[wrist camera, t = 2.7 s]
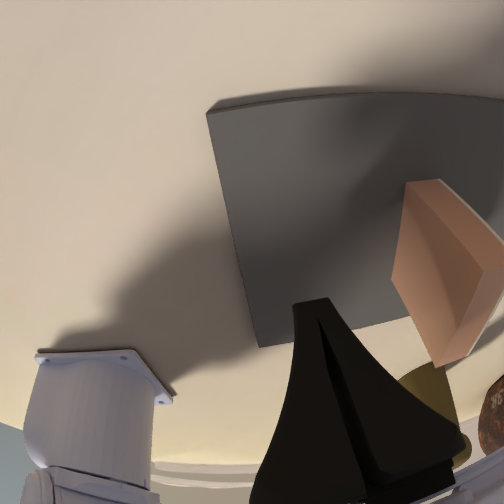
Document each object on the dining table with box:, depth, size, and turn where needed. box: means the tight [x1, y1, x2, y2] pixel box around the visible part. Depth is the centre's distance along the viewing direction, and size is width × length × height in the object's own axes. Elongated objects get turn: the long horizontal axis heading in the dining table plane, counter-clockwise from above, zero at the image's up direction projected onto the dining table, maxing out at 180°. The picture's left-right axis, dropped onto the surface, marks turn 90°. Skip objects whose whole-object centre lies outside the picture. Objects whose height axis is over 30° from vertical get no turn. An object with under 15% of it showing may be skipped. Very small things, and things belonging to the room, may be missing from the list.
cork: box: [398, 363, 472, 470], centre depth 23 cm, size 6×6×11 cm
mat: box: [206, 93, 504, 348], centre depth 15 cm, size 20×14×1 cm
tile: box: [391, 179, 504, 368], centre depth 12 cm, size 2×6×6 cm, turn 8°
